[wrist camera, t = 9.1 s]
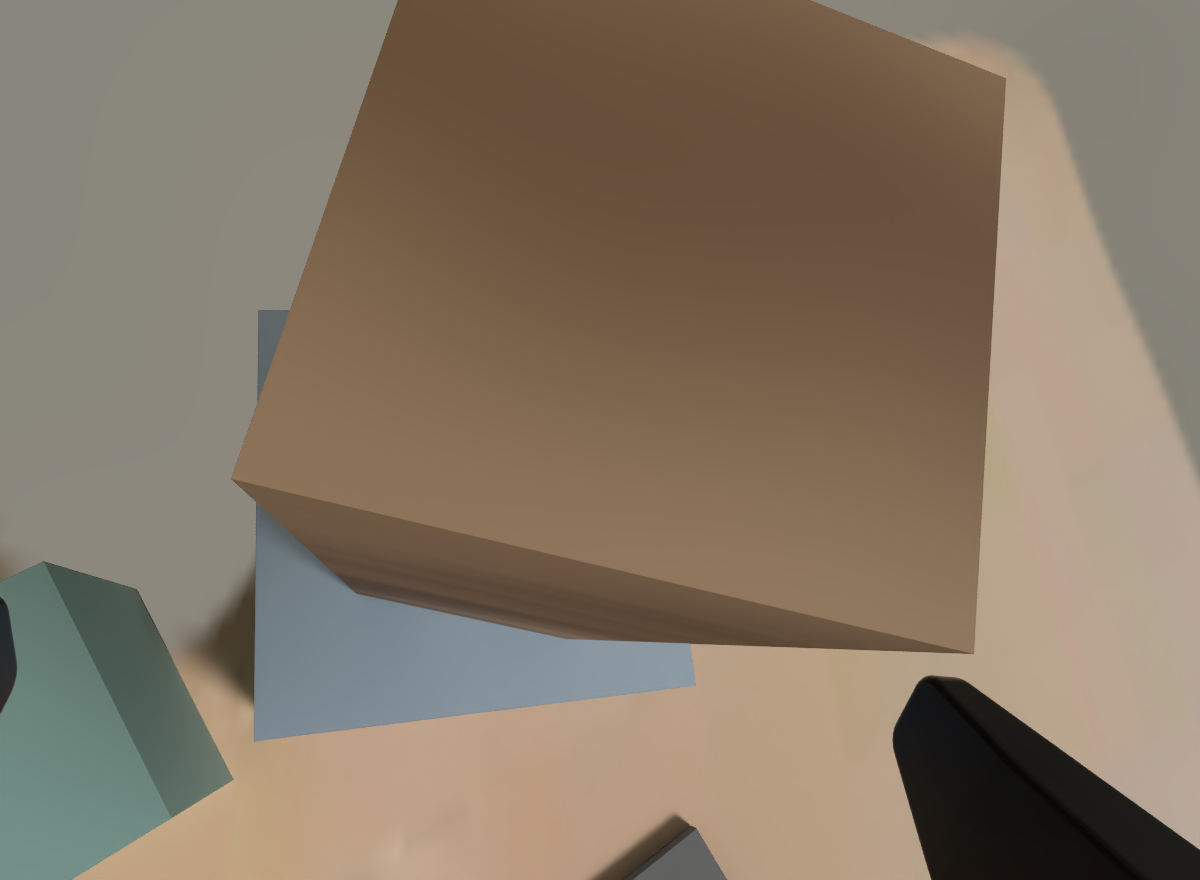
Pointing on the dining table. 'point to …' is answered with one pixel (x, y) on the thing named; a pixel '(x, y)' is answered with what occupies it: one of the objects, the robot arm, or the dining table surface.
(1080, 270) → the dining table surface
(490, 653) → the blue base block
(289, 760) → the dining table surface
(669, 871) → the card
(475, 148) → the walnut pillar
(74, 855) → the teal cube
